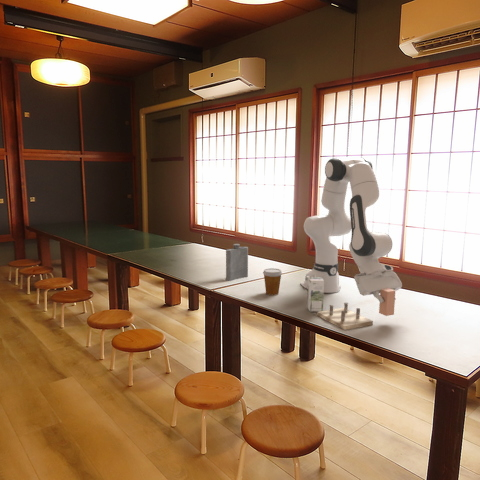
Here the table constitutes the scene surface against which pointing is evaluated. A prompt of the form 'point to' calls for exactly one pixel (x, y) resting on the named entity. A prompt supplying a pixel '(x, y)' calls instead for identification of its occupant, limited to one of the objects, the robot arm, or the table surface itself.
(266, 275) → the disposable coffee cup
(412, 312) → the table surface
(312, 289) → the syrup box
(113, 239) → the table surface
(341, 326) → the peg board
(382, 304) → the terracotta block
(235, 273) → the hip flask
